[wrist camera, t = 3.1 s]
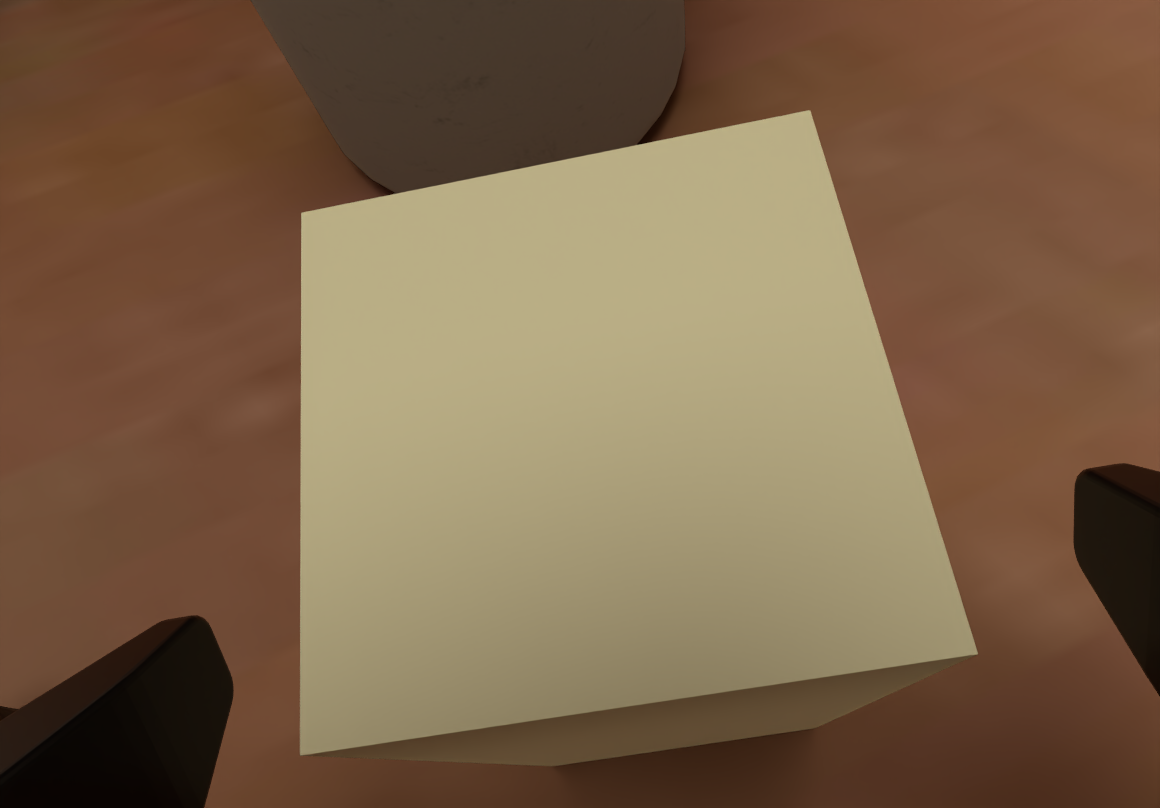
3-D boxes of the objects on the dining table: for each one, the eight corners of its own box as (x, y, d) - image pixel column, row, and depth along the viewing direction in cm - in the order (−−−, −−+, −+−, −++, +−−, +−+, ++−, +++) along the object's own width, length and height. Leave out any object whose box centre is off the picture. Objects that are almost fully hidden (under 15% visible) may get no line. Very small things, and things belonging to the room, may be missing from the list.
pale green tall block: (815, 728, 16) (979, 653, 6) (552, 766, 16) (300, 755, 6) (758, 475, 18) (810, 110, 8) (525, 515, 19) (302, 213, 9)
